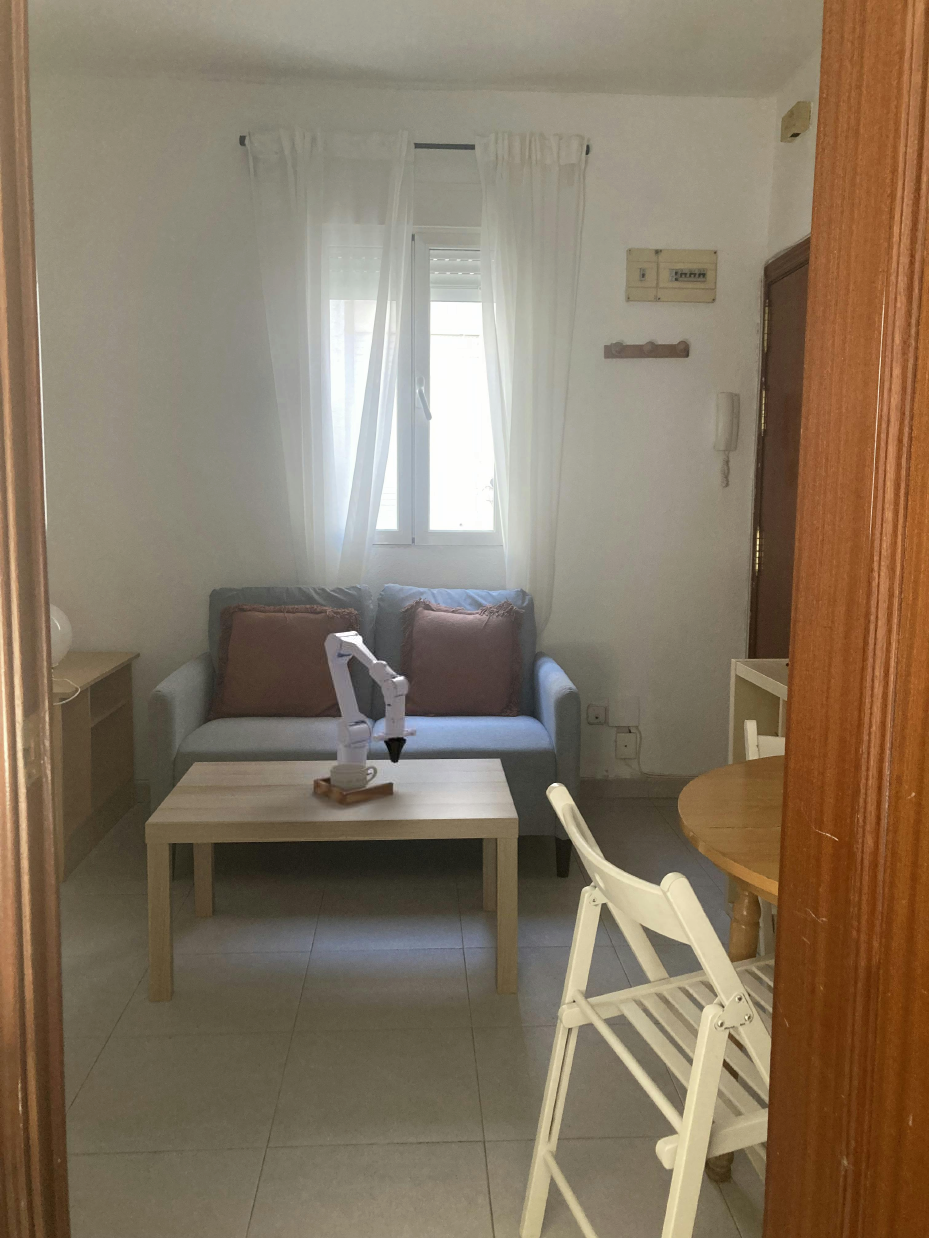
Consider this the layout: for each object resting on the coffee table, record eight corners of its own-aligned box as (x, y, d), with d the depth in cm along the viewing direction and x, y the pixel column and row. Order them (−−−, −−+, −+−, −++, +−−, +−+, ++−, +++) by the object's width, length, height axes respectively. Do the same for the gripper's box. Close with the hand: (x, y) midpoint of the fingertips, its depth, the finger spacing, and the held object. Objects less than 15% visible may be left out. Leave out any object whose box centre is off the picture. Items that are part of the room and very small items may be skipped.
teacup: (331, 800, 266) (331, 772, 265) (327, 788, 276) (327, 762, 275) (380, 797, 269) (380, 770, 268) (375, 786, 280) (375, 759, 279)
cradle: (313, 791, 273) (313, 779, 273) (361, 781, 284) (361, 770, 284) (344, 805, 261) (344, 793, 261) (393, 794, 272) (393, 783, 271)
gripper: (382, 723, 272) (382, 769, 274) (422, 717, 281) (421, 761, 283) (369, 718, 277) (368, 763, 279) (408, 712, 286) (408, 755, 288)
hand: (394, 762), depth 281 cm, fingers closed
